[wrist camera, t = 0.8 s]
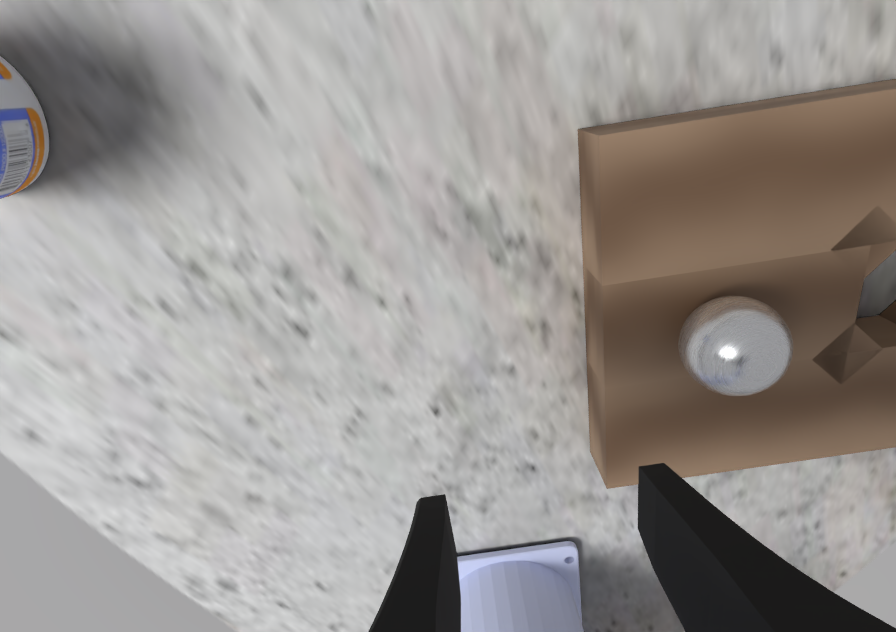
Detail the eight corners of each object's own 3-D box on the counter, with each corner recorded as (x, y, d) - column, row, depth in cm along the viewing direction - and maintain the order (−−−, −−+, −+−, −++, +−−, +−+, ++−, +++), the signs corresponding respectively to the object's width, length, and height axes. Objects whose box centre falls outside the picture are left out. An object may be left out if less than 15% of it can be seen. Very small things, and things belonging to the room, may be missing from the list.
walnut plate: (952, 399, 25) (1005, 431, 22) (590, 451, 25) (606, 488, 23) (1061, 52, 18) (1150, 48, 16) (578, 129, 19) (599, 135, 17)
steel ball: (749, 357, 20) (809, 408, 17) (661, 370, 20) (704, 423, 17) (758, 274, 19) (826, 313, 16) (663, 289, 19) (711, 331, 16)
